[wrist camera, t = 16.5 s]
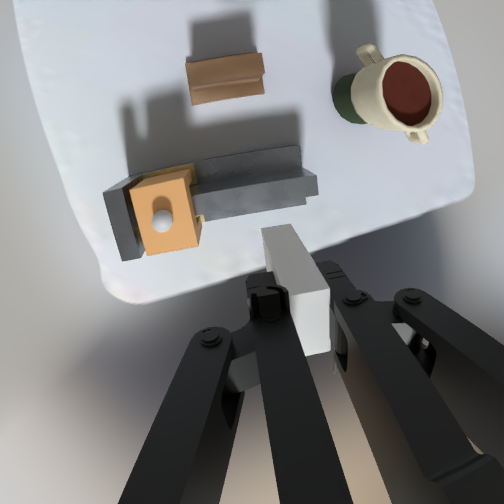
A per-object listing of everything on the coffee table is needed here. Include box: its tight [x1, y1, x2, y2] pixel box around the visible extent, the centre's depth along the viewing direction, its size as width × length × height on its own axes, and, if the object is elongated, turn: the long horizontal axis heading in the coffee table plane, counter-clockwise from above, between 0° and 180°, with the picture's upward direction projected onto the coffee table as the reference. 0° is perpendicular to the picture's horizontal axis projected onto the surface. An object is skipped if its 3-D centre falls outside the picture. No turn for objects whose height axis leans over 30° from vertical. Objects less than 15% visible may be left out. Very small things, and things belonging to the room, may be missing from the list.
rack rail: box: [103, 145, 318, 261], centre depth 32 cm, size 7×20×9 cm, turn 99°
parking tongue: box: [185, 52, 265, 105], centre depth 28 cm, size 5×8×7 cm, turn 99°
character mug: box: [333, 43, 443, 144], centre depth 28 cm, size 11×7×13 cm, turn 37°
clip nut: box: [129, 169, 202, 256], centre depth 30 cm, size 6×5×7 cm
